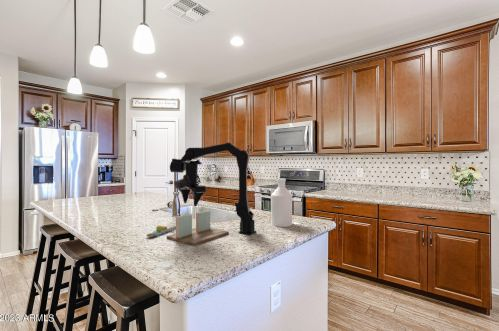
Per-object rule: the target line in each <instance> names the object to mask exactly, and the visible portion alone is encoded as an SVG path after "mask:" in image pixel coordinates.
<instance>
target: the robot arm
mask: <svg viewBox="0 0 499 331" xmlns="http://www.w3.org/2000/svg"><path fill="white" fill-rule="evenodd" d="M184 152H185V153H184V155H183V156H182V157H181V158H180V159H179V158H172V159H171V162H170V164H169V171H170V172H171V173H184V172H185V174H184V175H183V176H182V177H183V178H180V179H177V180H174V181H173V184H174V188H175V189H177V191H178V192H180V193H181V196H182V201H183V203H184V204H187V202H188V199H189V196H190V192H191V194H192V197H193V198H192V199H193V206H194V207H196V206H198V203H199V202H200V200H201V199H202V196H203V195H204V194H205V193H206V192H207V187H206V186H205V185H200V184H199V183H198V178H200V175H198V167H199V165H203V163H202V162H201V161H200V158H203V157H205V156H207V155H208V156H209V155H213V154H218V153H223V152H228V153H230V154H231V155H233V157H235V159H236V163H237V168H238V193H239V194H238V198H239V199H238V200H237V201H236V202H235V211H234V212H235V213H236V215H237V217H238V218H240V222H239V231H238V234H243V235H252V234H255V233H257V230H256V229H255V228H256V227H255V219H254V216H255V214H254V213H253V212H252V211H251V209H250V203H249V199H248V167H249V162H250V154H249V152H247V151H245V150H241V149H239V148H238V147H236V146H235V145H234V144H232V142H225V143H221V144H215V145H210V146H205V147H188V148H186V150H185V151H184Z"/></svg>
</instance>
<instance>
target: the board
mask: <svg viewBox="0 0 499 331" xmlns="http://www.w3.org/2000/svg"><path fill="white" fill-rule="evenodd" d="M229 233H230V232H229V231H228V230H223V229H217V228H213V227H210V229H207V230H203V231H200V232H196V227H195V228H192V234H190V235H186V236H183V237H180V238H177V237H176V232H174V233H172V234H169V235H166V239H167V240H170V241H174V242H177V243H183V244H186V245H190V246H198V245H201V244H203V243H206V242H209V241H213V240H214V239H217V238H221V237H224V236H227V235H229Z"/></svg>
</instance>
